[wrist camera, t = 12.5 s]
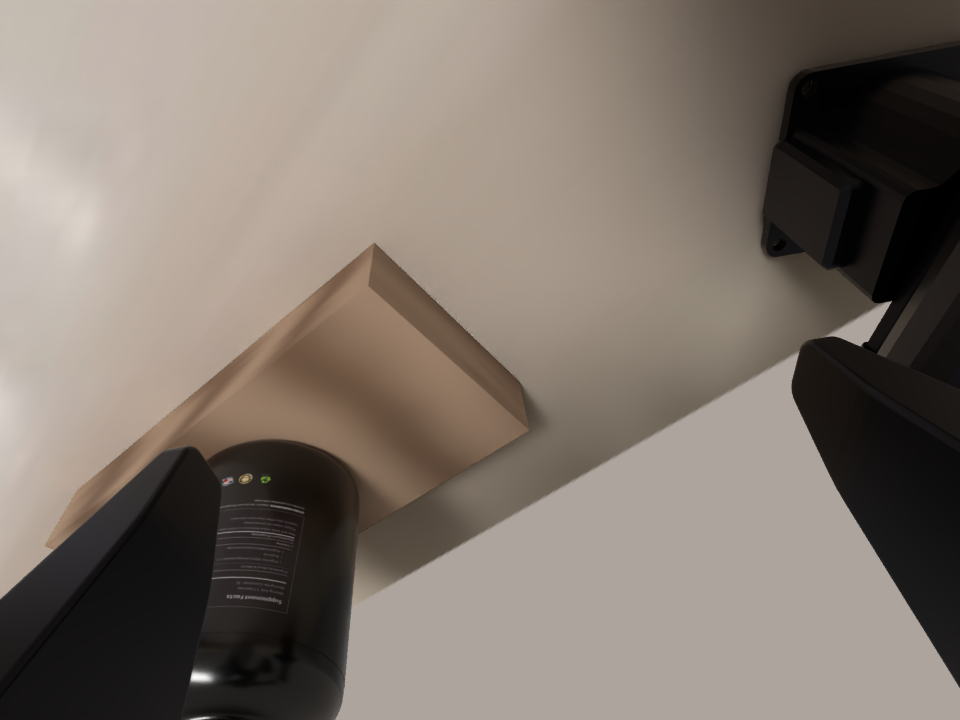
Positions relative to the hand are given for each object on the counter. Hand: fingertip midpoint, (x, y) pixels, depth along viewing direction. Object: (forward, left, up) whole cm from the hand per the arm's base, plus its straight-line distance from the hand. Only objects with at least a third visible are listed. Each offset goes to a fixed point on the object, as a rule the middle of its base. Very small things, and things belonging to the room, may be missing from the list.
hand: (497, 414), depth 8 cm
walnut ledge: (+10, +12, -13) cm, 20 cm away
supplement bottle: (+10, +12, -10) cm, 18 cm away
